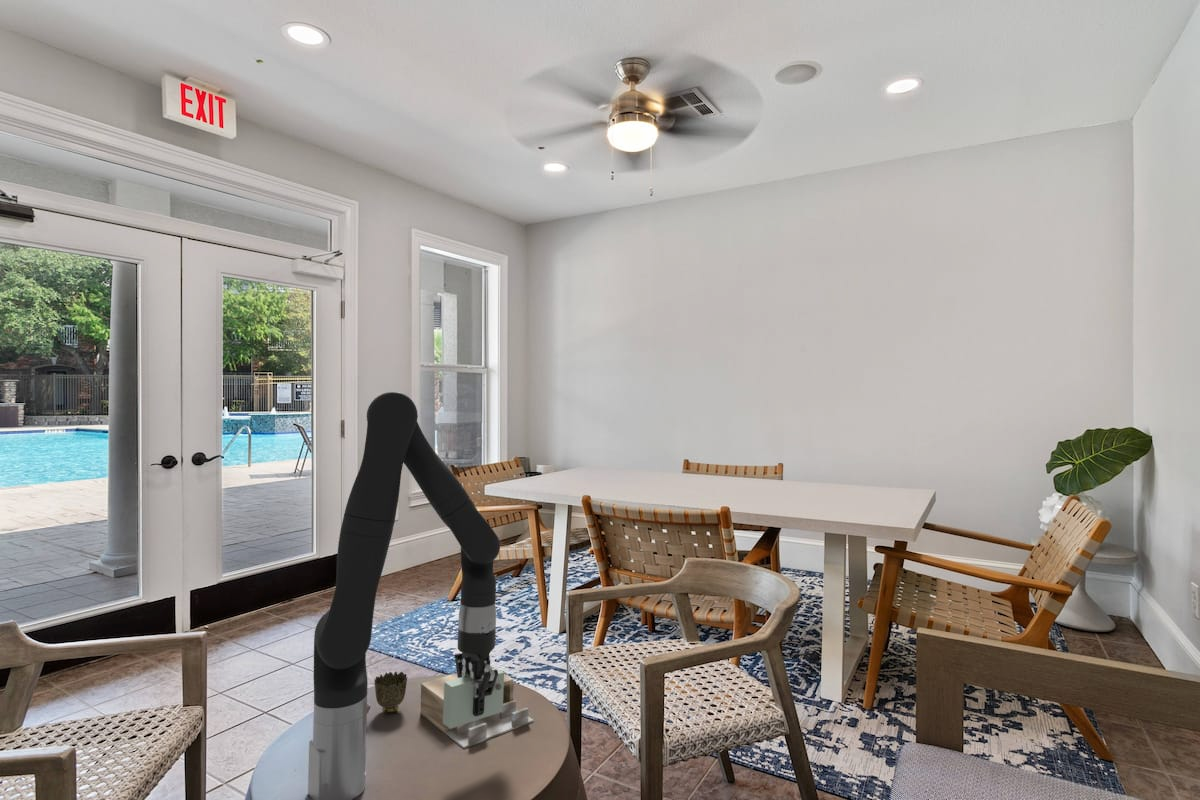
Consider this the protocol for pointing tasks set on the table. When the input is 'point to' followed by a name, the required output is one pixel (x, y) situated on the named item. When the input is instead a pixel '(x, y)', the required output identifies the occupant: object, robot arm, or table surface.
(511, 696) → the cabinet
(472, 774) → the table surface
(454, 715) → the door
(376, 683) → the cup
